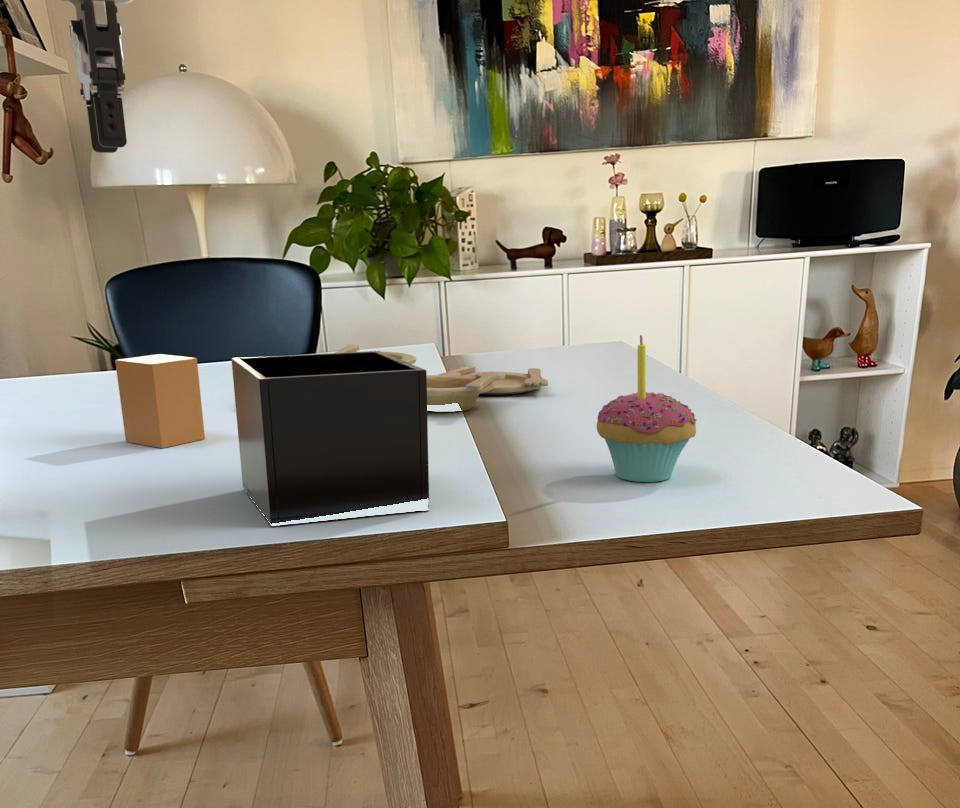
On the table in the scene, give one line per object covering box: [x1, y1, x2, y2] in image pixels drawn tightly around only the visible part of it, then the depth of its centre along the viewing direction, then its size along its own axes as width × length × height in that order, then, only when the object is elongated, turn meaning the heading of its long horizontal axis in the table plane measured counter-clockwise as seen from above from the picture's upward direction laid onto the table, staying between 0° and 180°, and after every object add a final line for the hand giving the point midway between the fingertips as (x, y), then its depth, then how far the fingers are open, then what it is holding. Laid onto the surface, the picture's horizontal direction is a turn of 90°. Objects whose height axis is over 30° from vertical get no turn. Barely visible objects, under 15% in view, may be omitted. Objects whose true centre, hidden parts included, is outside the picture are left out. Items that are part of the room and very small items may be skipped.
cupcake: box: [596, 334, 698, 483], centre depth 88 cm, size 9×8×12 cm
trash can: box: [230, 350, 430, 524], centre depth 81 cm, size 12×12×11 cm
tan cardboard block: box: [114, 353, 206, 449], centre depth 103 cm, size 6×6×8 cm
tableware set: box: [334, 343, 549, 413], centre depth 130 cm, size 35×29×4 cm
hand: (109, 149), depth 91 cm, fingers open, 8 cm apart
